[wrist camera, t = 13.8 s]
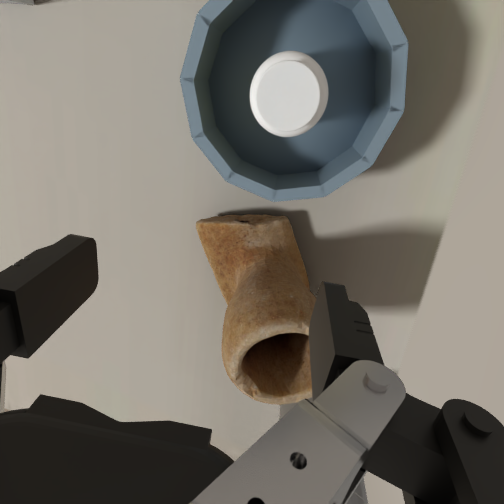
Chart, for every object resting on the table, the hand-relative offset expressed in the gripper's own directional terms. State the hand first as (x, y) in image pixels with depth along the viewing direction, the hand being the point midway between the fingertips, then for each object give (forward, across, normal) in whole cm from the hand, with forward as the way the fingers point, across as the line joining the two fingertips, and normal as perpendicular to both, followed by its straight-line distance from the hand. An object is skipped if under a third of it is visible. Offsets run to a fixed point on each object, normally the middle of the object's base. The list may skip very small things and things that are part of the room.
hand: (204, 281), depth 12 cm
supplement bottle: (+22, -2, -6) cm, 23 cm away
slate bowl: (+23, -2, -6) cm, 24 cm away
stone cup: (+24, -3, +11) cm, 27 cm away
